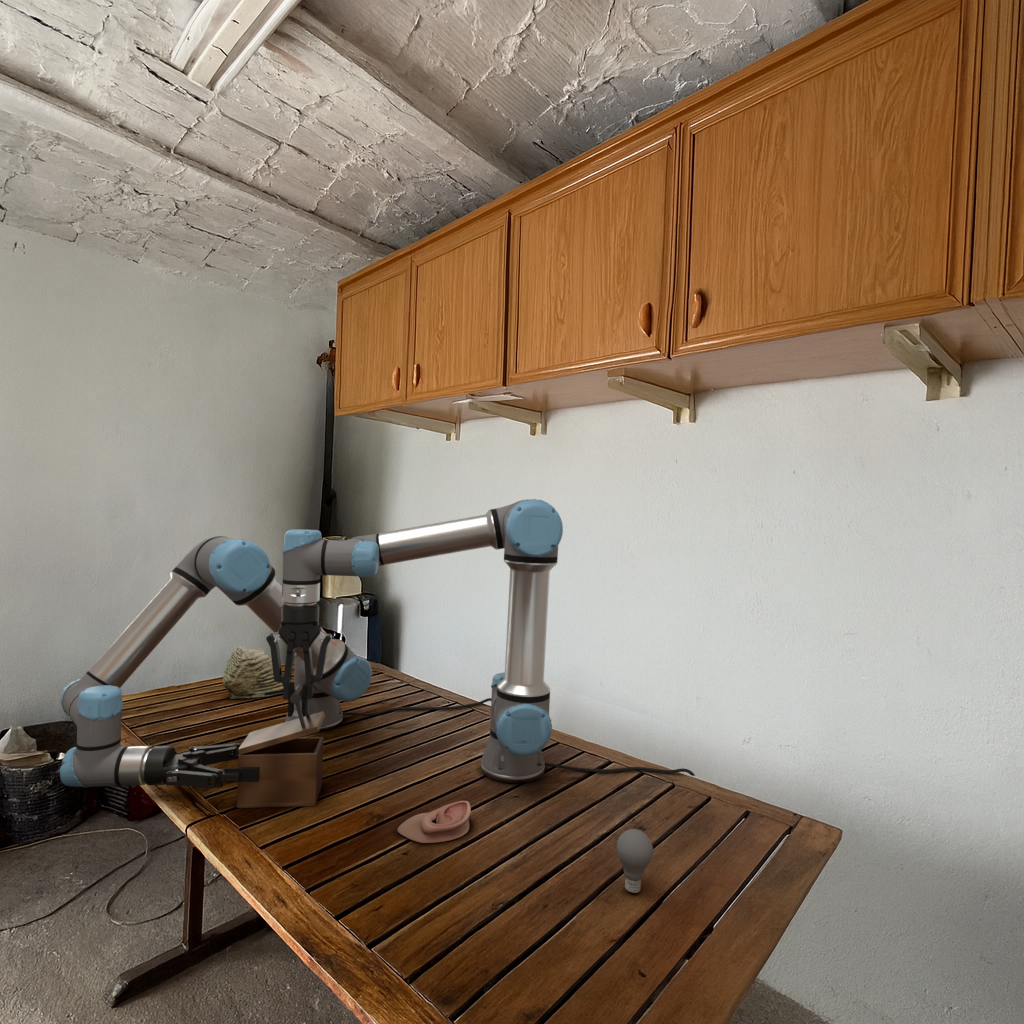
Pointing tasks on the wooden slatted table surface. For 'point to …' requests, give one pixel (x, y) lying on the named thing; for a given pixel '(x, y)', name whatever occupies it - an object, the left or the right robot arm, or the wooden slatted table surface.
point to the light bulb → (634, 857)
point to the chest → (283, 774)
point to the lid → (284, 728)
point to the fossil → (250, 674)
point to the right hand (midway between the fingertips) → (297, 714)
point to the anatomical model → (438, 824)
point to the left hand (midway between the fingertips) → (264, 763)
